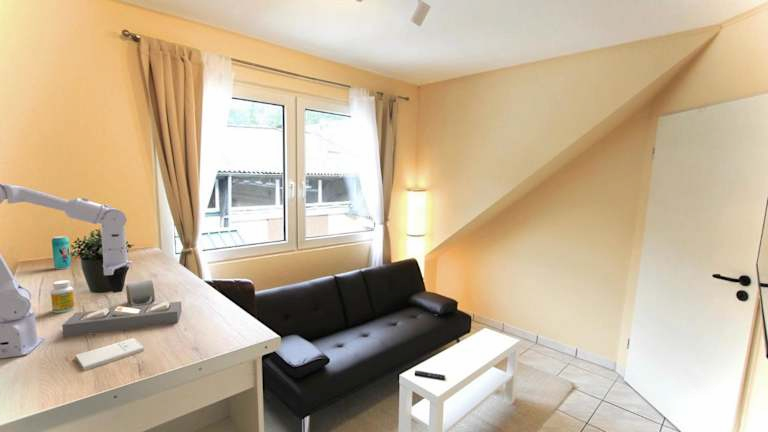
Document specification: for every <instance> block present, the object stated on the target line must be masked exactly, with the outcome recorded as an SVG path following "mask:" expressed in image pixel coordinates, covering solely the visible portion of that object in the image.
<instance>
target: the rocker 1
mask: <svg viewBox="0 0 768 432" xmlns="http://www.w3.org/2000/svg"><path fill="white" fill-rule="evenodd" d="M108 309H109V308H108V307H105V308H101V309H99V311H97V310H95V311H96V312H93V313H90V314H88V315H85V316H84V317H83V318H82V319H81V320H84V319H93V318H101V317H104V316H106V315H107V313H108V312H109V310H108Z"/></svg>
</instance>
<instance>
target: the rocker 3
mask: <svg viewBox="0 0 768 432" xmlns="http://www.w3.org/2000/svg"><path fill="white" fill-rule="evenodd" d="M169 303H170V302H169V301H168V300H166V301H164V302H161V303H157V304H158V305H156V306H153V307H151V308H148V309H147V310H146V312H153V311H162V310H166V309H168V307H169V305H170V304H169Z"/></svg>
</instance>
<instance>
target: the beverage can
mask: <svg viewBox="0 0 768 432" xmlns="http://www.w3.org/2000/svg"><path fill="white" fill-rule="evenodd" d="M51 238H52V239H51V245H52V246H51V247H52V248H51V249H52V258H53V266H54V268H55V270H67V269H69V268H70V267H71V264H72V263H71V250H70V249H71V248H70V240H69V238H68V235H57V236H52V237H51ZM68 253H70V255H68Z"/></svg>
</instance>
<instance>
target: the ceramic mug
mask: <svg viewBox="0 0 768 432" xmlns="http://www.w3.org/2000/svg"><path fill="white" fill-rule="evenodd" d="M154 286H155V285H154V280H153V279H152V278H151V279H146V280H141V281H135V282H131V283H128V284H127V285H125V290H126V291H125V292H126V299H127V304H131V307H134V306H143V305H151V303H152V301H155V300H156V297H155V287H154Z"/></svg>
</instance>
